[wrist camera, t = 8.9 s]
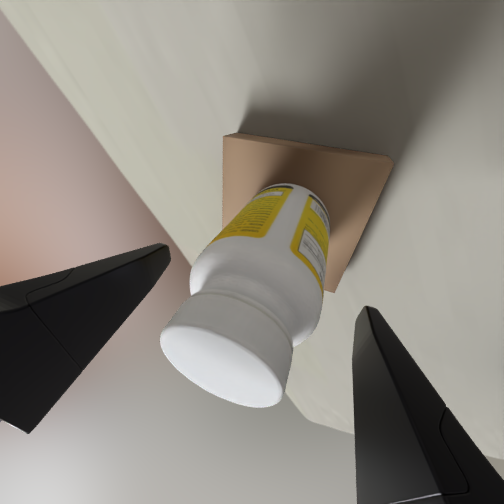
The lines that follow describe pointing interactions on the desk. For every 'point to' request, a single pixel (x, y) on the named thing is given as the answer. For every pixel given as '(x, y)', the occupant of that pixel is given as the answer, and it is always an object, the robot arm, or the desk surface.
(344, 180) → the base plate
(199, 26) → the desk surface
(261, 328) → the supplement bottle
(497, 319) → the desk surface
